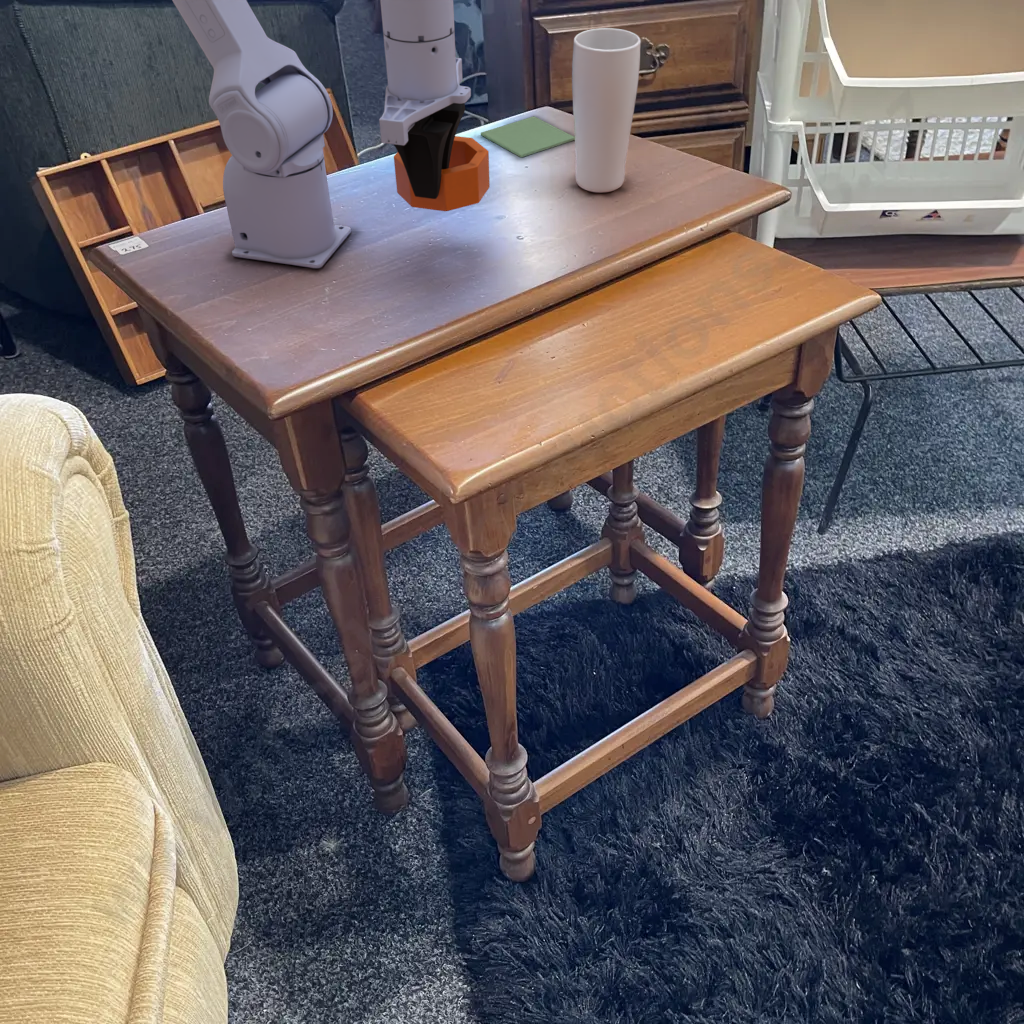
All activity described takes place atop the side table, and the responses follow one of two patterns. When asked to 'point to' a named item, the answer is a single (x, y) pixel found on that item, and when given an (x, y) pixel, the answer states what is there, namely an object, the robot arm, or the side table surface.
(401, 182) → the ring
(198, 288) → the side table surface
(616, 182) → the drinking glass
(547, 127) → the mat
